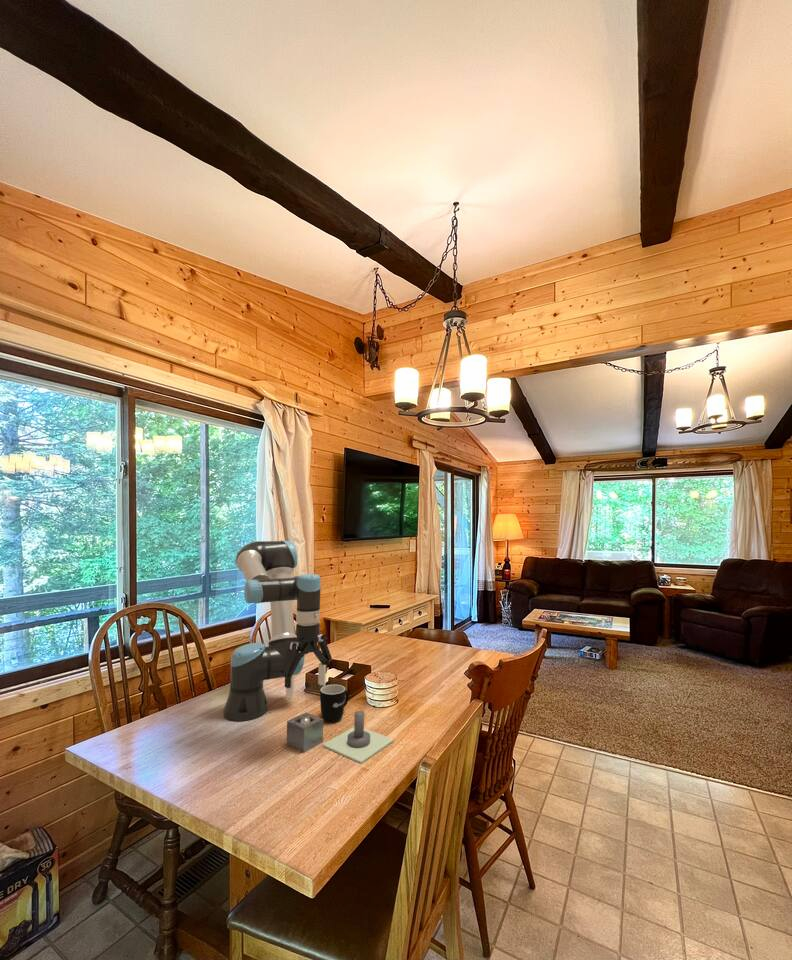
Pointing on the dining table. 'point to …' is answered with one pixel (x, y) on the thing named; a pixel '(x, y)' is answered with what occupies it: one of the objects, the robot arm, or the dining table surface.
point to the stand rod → (305, 720)
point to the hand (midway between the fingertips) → (306, 691)
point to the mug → (333, 702)
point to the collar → (304, 732)
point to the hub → (358, 741)
